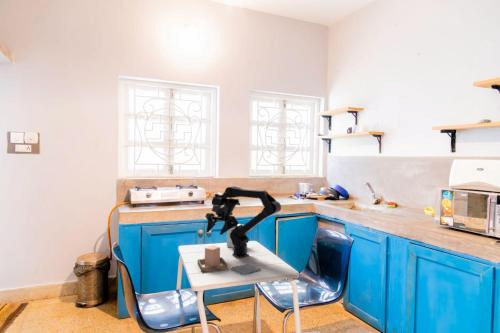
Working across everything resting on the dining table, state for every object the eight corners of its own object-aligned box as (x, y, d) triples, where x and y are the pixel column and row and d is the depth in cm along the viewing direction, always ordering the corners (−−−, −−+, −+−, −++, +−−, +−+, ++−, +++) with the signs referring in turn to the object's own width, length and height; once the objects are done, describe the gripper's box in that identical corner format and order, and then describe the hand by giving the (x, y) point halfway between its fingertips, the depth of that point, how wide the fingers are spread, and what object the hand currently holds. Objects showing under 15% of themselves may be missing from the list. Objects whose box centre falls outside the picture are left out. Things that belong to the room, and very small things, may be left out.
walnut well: (222, 261, 158) (222, 257, 158) (228, 269, 146) (228, 265, 146) (197, 263, 154) (197, 259, 154) (201, 272, 142) (201, 267, 142)
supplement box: (236, 248, 180) (237, 226, 180) (226, 246, 184) (226, 225, 184) (244, 245, 186) (244, 224, 186) (233, 244, 190) (233, 223, 190)
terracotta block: (212, 264, 154) (212, 245, 153) (219, 266, 151) (219, 247, 150) (204, 266, 149) (204, 247, 149) (212, 269, 147) (212, 249, 146)
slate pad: (247, 264, 153) (247, 263, 153) (261, 270, 145) (261, 269, 145) (230, 268, 147) (230, 267, 147) (243, 275, 139) (243, 273, 139)
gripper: (207, 197, 169) (192, 221, 161) (234, 200, 158) (219, 225, 150) (217, 210, 176) (203, 234, 167) (244, 213, 165) (230, 239, 156)
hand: (213, 233), depth 160 cm, fingers open, 9 cm apart
